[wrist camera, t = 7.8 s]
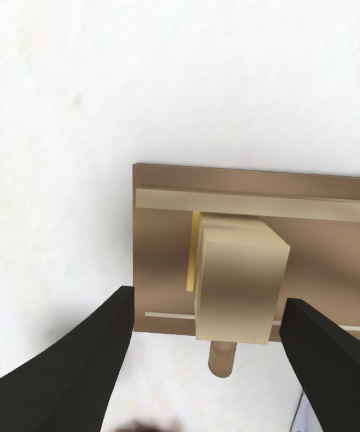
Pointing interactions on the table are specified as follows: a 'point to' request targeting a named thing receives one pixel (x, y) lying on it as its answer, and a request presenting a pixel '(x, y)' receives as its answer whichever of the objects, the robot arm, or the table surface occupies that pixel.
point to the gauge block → (236, 284)
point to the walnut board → (253, 206)
